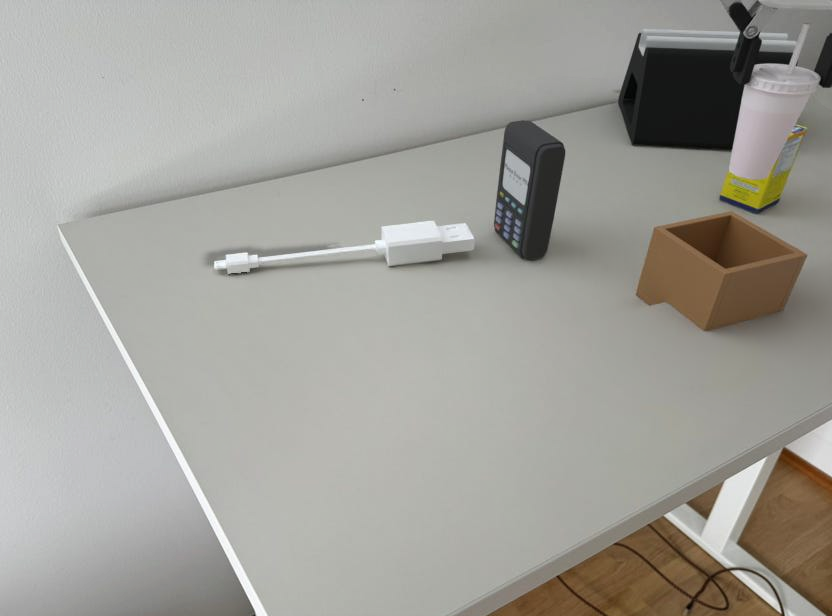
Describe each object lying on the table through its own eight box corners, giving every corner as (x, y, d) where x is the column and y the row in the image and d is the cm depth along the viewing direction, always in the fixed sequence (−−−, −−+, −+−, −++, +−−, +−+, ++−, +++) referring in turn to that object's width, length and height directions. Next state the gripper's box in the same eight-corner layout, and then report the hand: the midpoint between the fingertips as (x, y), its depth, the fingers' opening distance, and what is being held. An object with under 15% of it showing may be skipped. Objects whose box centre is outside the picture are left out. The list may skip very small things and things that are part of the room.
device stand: (777, 154, 114) (813, 57, 105) (632, 146, 118) (655, 51, 109) (743, 107, 132) (772, 20, 122) (617, 101, 135) (636, 16, 126)
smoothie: (766, 191, 68) (824, 35, 59) (702, 171, 72) (748, 22, 63) (794, 172, 71) (853, 22, 63) (731, 154, 75) (778, 10, 66)
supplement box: (739, 188, 105) (765, 115, 98) (779, 203, 101) (809, 127, 94) (716, 199, 102) (741, 124, 95) (756, 215, 98) (785, 137, 91)
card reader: (487, 230, 95) (500, 120, 86) (514, 226, 96) (530, 116, 87) (520, 263, 89) (538, 147, 79) (549, 258, 90) (570, 143, 80)
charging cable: (217, 267, 91) (212, 244, 89) (463, 238, 93) (465, 215, 91) (216, 288, 87) (211, 264, 85) (474, 257, 89) (475, 234, 87)
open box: (708, 277, 86) (731, 210, 80) (777, 324, 78) (808, 254, 72) (635, 294, 83) (654, 226, 77) (698, 345, 75) (725, 274, 70)
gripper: (756, -152, 53) (689, 90, 64) (1014, -154, 51) (898, 99, 62) (733, -157, 59) (675, 66, 70) (963, -159, 57) (865, 73, 68)
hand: (780, 80), depth 66 cm, fingers closed on smoothie, 6 cm apart
